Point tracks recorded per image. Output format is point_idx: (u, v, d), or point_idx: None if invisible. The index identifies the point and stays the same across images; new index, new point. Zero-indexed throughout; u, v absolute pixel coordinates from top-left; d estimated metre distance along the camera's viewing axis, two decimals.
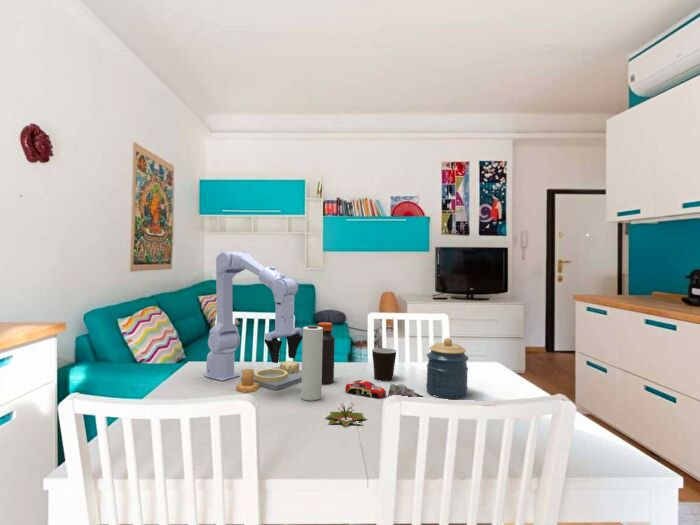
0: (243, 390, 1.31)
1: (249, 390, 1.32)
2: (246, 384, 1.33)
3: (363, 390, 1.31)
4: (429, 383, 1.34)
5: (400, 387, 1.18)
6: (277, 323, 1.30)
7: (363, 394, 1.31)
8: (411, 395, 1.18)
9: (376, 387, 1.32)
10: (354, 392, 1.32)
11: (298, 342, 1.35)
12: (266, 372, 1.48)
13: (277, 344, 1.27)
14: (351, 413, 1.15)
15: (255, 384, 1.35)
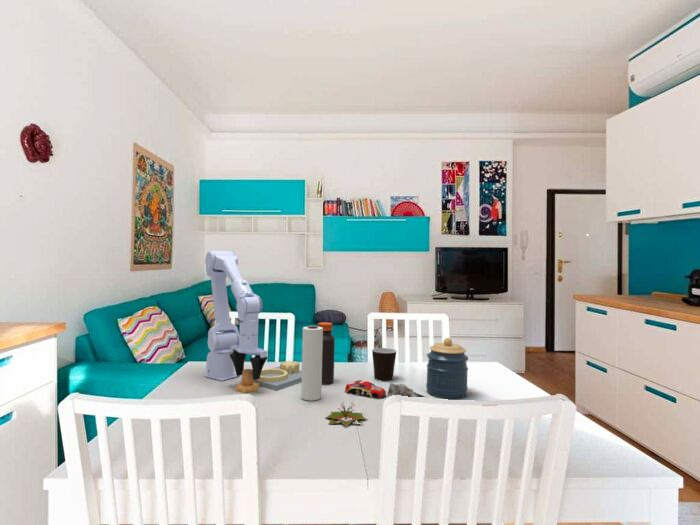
0: (243, 390, 1.31)
1: (249, 390, 1.32)
2: (246, 384, 1.33)
3: (363, 390, 1.31)
4: (429, 383, 1.34)
5: (399, 386, 1.19)
6: None
7: (363, 394, 1.31)
8: (410, 394, 1.18)
9: (376, 387, 1.32)
10: (354, 392, 1.32)
11: (253, 364, 1.31)
12: (266, 372, 1.48)
13: (230, 356, 1.36)
14: (351, 413, 1.15)
15: (255, 384, 1.35)
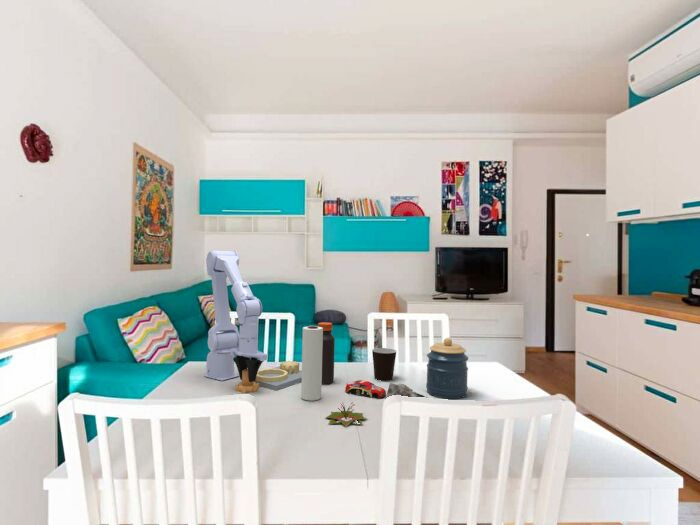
0: (243, 390, 1.31)
1: (249, 390, 1.32)
2: (246, 384, 1.33)
3: (363, 390, 1.31)
4: (429, 383, 1.34)
5: (399, 386, 1.19)
6: None
7: (363, 394, 1.31)
8: (410, 394, 1.18)
9: (376, 387, 1.32)
10: (354, 392, 1.32)
11: (248, 366, 1.32)
12: (266, 372, 1.48)
13: (234, 360, 1.35)
14: (351, 413, 1.15)
15: (255, 384, 1.35)
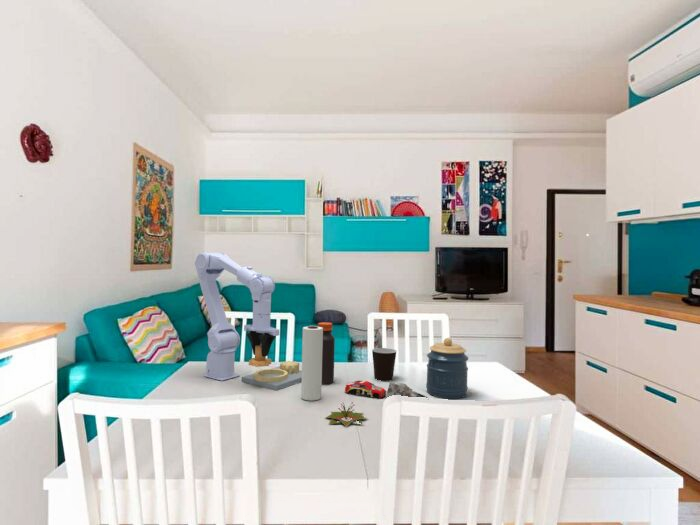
0: (256, 364, 1.36)
1: (261, 364, 1.36)
2: (259, 359, 1.38)
3: (363, 390, 1.31)
4: (429, 383, 1.34)
5: (399, 386, 1.20)
6: None
7: (363, 394, 1.31)
8: (409, 394, 1.19)
9: (376, 387, 1.32)
10: (354, 393, 1.32)
11: (262, 341, 1.36)
12: (266, 372, 1.48)
13: (247, 336, 1.39)
14: (351, 413, 1.15)
15: (267, 360, 1.39)
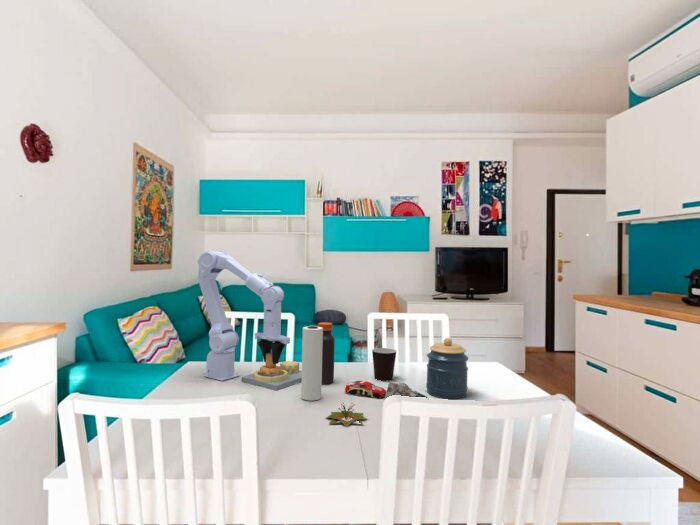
0: (267, 371, 1.40)
1: (272, 372, 1.41)
2: (269, 366, 1.42)
3: (364, 390, 1.31)
4: (429, 383, 1.34)
5: (398, 385, 1.20)
6: None
7: (364, 394, 1.31)
8: (409, 393, 1.19)
9: (376, 387, 1.32)
10: (354, 393, 1.32)
11: (273, 349, 1.40)
12: None
13: (258, 344, 1.44)
14: (351, 413, 1.15)
15: (277, 367, 1.44)
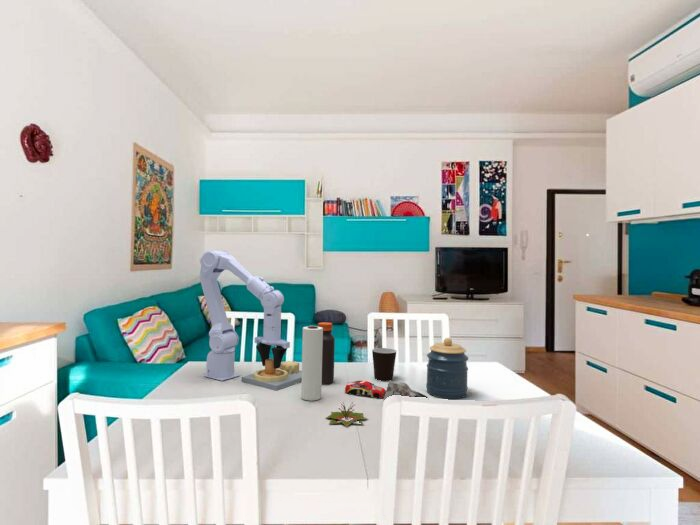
0: None
1: None
2: (269, 373, 1.42)
3: (364, 390, 1.31)
4: (429, 383, 1.34)
5: (398, 384, 1.21)
6: None
7: (364, 394, 1.31)
8: (408, 393, 1.19)
9: (376, 387, 1.32)
10: (354, 393, 1.32)
11: (274, 354, 1.40)
12: None
13: (257, 348, 1.44)
14: (351, 413, 1.15)
15: (277, 373, 1.44)
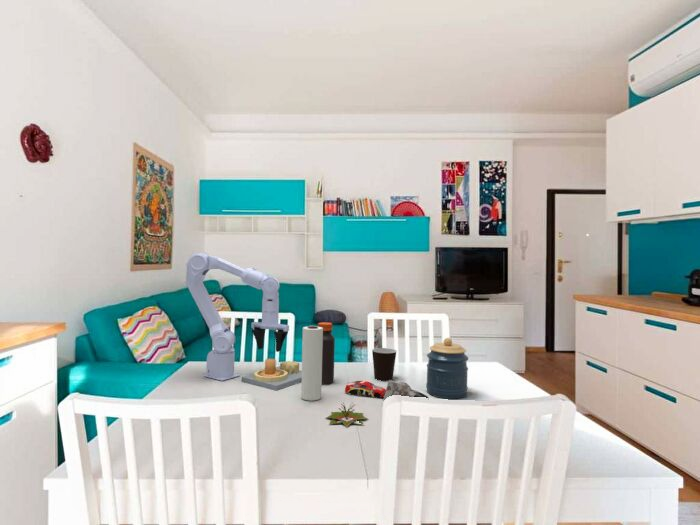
0: None
1: None
2: (269, 373, 1.42)
3: (364, 390, 1.31)
4: (429, 383, 1.34)
5: (397, 384, 1.21)
6: None
7: (364, 394, 1.31)
8: (407, 392, 1.20)
9: (377, 387, 1.32)
10: (355, 393, 1.32)
11: (277, 337, 1.46)
12: None
13: (252, 332, 1.50)
14: (352, 413, 1.15)
15: (277, 373, 1.44)
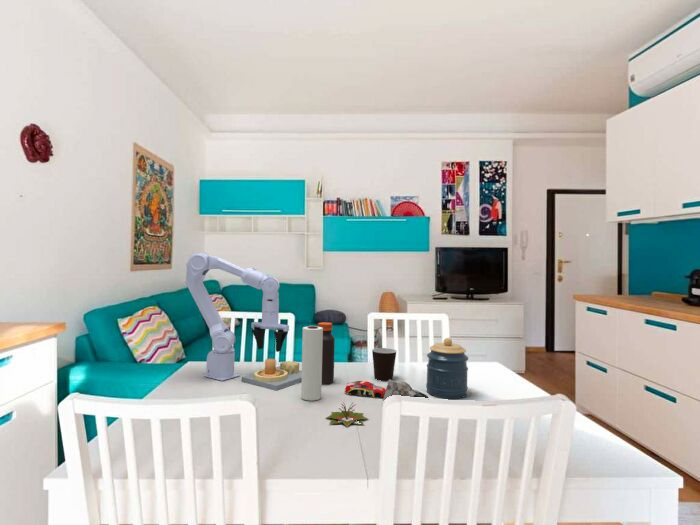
0: None
1: None
2: (269, 373, 1.42)
3: (365, 391, 1.31)
4: (429, 383, 1.34)
5: (397, 383, 1.22)
6: None
7: (365, 395, 1.31)
8: (407, 392, 1.20)
9: (377, 387, 1.32)
10: (355, 393, 1.31)
11: (277, 337, 1.46)
12: None
13: (252, 332, 1.50)
14: (352, 413, 1.15)
15: (277, 373, 1.44)
